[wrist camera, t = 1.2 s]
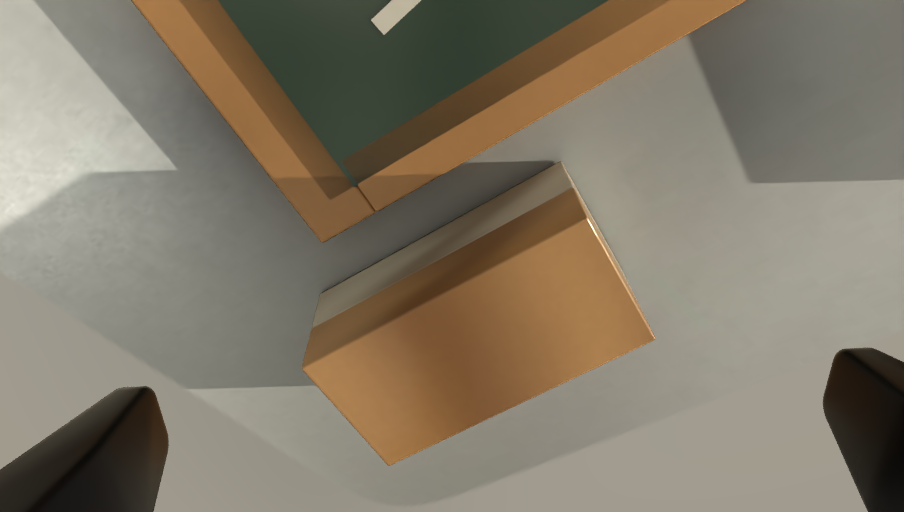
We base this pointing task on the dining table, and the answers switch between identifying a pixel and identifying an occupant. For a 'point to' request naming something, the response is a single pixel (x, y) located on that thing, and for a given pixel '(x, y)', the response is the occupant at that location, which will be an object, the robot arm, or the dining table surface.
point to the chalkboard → (400, 81)
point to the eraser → (474, 319)
